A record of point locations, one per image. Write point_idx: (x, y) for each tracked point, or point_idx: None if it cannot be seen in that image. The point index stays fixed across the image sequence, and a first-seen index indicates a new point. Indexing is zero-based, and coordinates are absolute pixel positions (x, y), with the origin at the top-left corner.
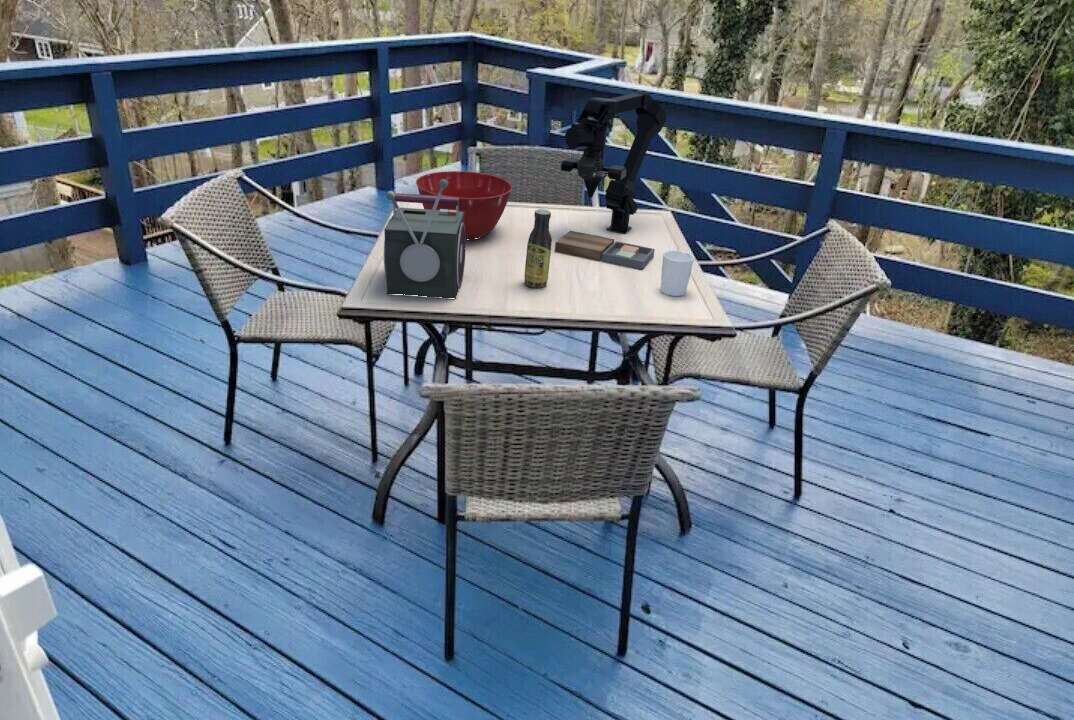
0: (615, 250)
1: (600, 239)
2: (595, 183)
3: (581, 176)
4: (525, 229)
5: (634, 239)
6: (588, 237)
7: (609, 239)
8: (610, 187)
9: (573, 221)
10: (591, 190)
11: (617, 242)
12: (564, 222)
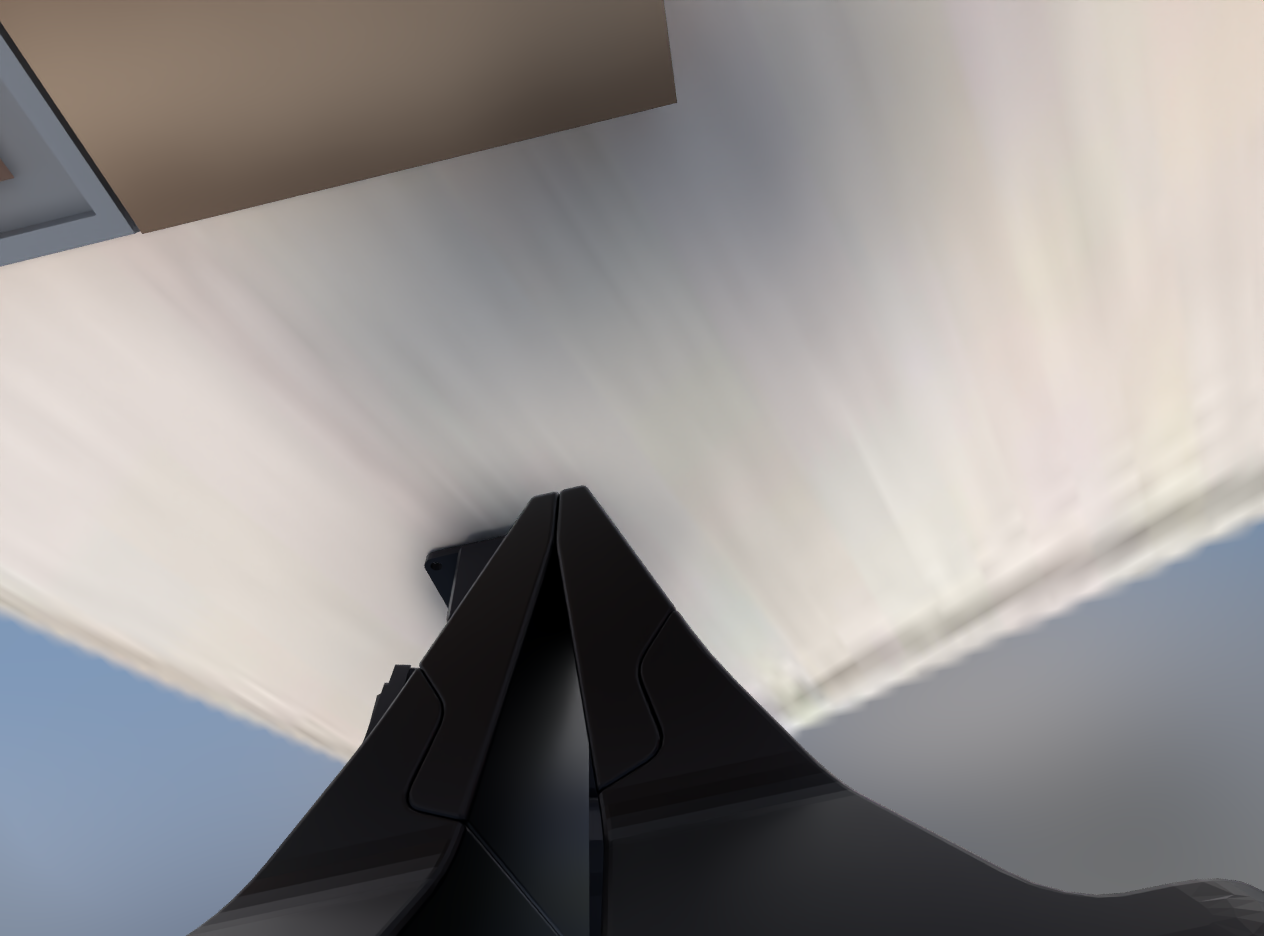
0: None
1: (213, 87)
2: (339, 818)
3: (1049, 917)
4: (1175, 24)
5: (305, 519)
6: (359, 30)
7: (161, 182)
8: (591, 876)
9: (839, 502)
10: (518, 592)
11: (93, 215)
12: (888, 446)
